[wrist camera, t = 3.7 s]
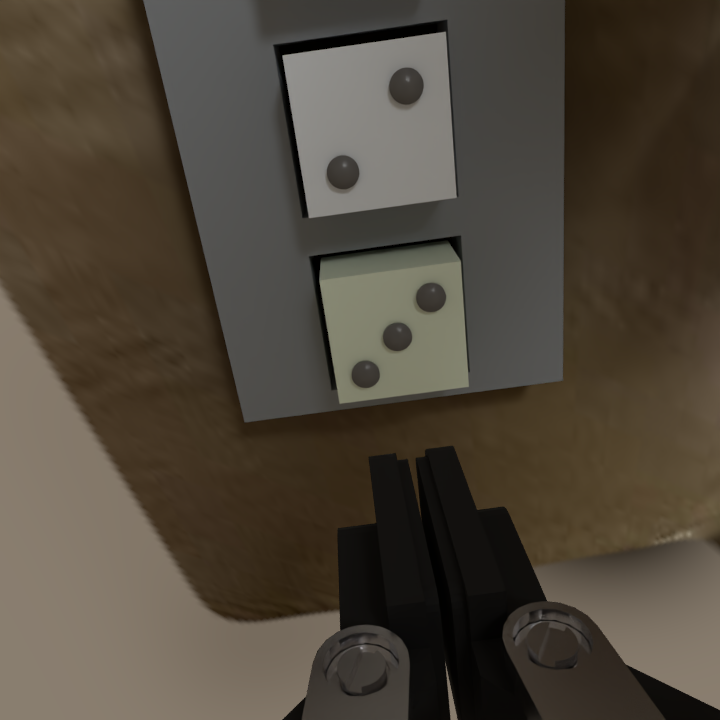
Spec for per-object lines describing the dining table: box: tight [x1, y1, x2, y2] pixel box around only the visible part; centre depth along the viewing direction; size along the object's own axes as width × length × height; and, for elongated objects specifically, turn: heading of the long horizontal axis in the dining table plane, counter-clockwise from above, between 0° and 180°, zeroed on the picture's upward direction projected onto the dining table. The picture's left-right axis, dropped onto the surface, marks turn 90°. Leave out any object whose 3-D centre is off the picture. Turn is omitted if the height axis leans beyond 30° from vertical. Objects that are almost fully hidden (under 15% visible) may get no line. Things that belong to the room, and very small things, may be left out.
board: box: [143, 0, 565, 422], centre depth 24 cm, size 14×23×2 cm, turn 7°
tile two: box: [282, 32, 457, 218], centre depth 23 cm, size 5×5×3 cm
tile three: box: [319, 240, 469, 404], centre depth 26 cm, size 5×5×3 cm
